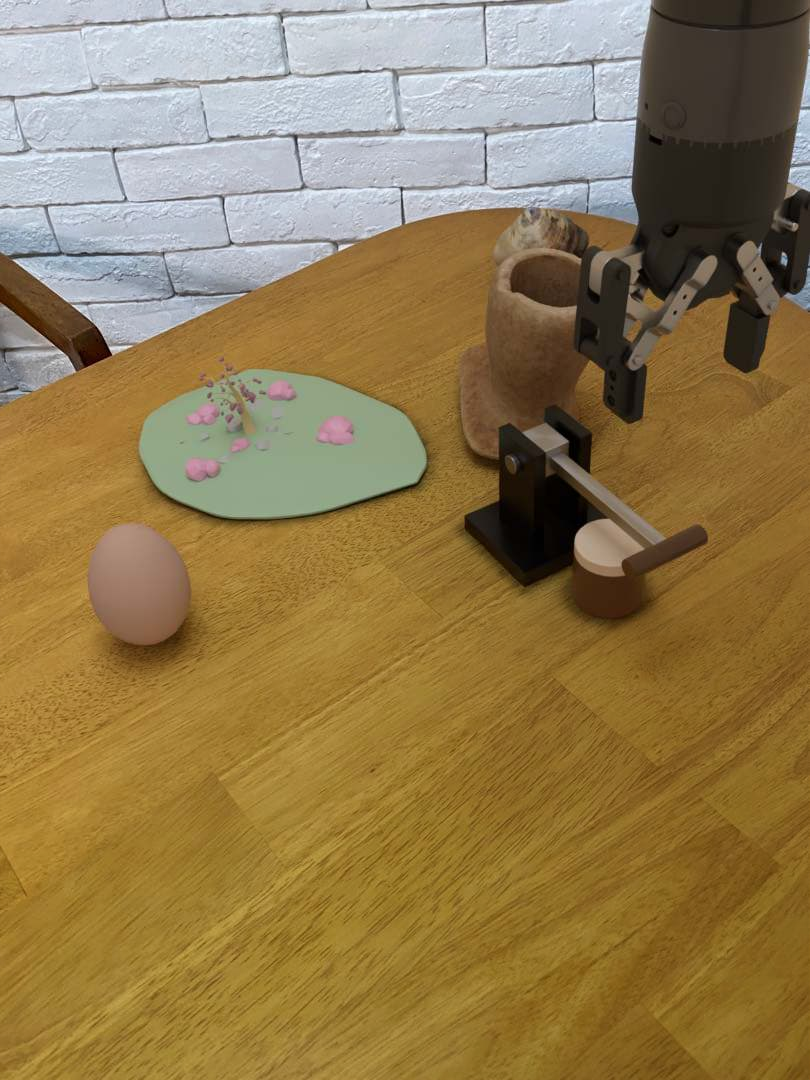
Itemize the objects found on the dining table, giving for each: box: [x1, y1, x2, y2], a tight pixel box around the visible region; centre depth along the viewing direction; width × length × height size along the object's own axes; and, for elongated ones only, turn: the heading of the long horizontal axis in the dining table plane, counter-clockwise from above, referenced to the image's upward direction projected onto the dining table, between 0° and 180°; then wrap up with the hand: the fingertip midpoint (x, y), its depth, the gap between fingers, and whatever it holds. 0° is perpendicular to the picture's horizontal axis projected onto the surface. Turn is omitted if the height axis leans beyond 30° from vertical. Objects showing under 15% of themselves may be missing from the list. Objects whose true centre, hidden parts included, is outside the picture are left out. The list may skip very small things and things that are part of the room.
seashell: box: [493, 206, 590, 267], centre depth 113 cm, size 10×6×8 cm, turn 89°
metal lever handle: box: [522, 423, 709, 580], centre depth 77 cm, size 15×6×2 cm, turn 31°
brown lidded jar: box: [571, 519, 646, 619], centre depth 79 cm, size 5×5×5 cm
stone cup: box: [458, 248, 599, 461], centre depth 93 cm, size 15×12×15 cm
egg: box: [86, 522, 192, 646], centre depth 77 cm, size 7×7×10 cm
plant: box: [138, 356, 428, 520], centre depth 94 cm, size 25×21×9 cm
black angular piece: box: [463, 404, 609, 588], centre depth 83 cm, size 8×9×10 cm
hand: (683, 390), depth 64 cm, fingers open, 8 cm apart
